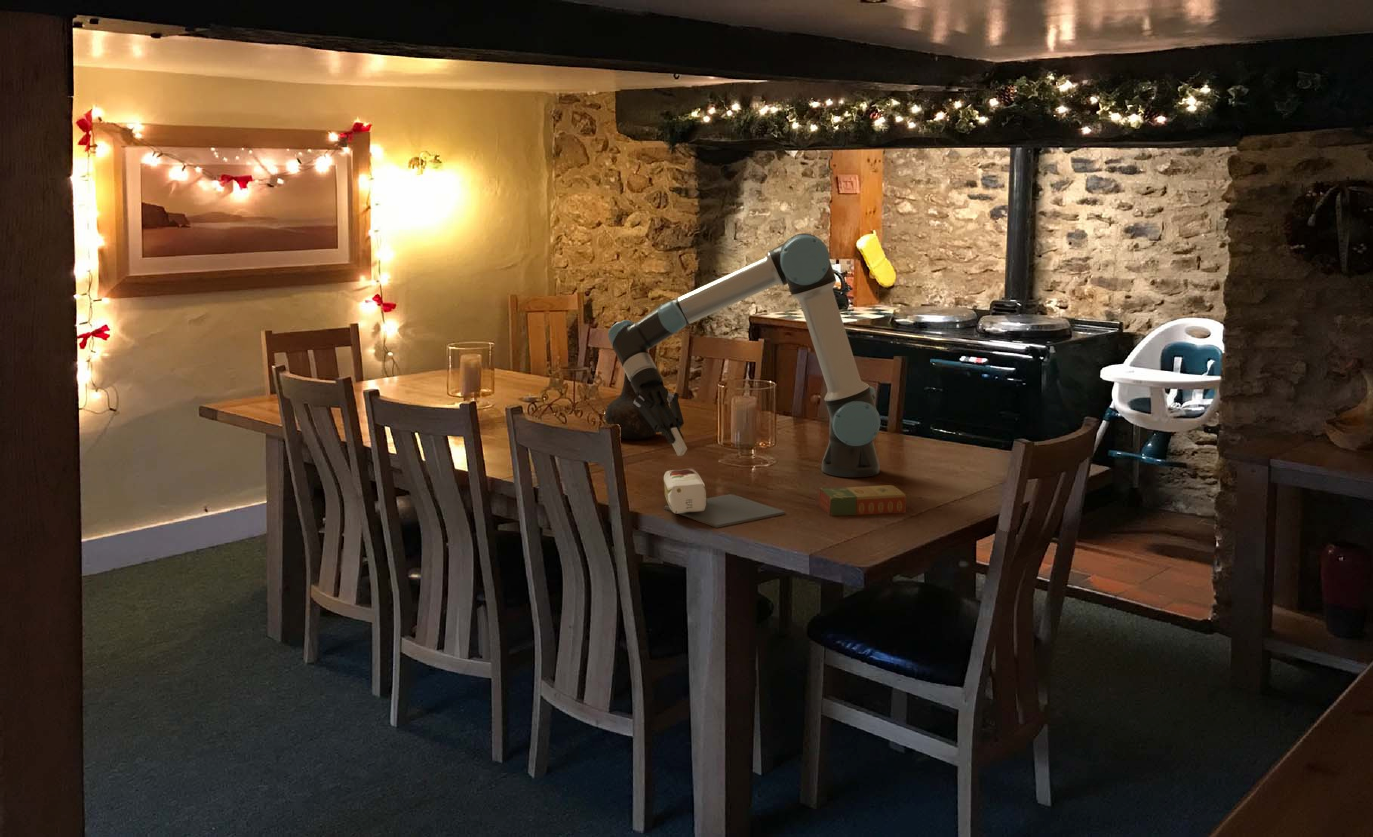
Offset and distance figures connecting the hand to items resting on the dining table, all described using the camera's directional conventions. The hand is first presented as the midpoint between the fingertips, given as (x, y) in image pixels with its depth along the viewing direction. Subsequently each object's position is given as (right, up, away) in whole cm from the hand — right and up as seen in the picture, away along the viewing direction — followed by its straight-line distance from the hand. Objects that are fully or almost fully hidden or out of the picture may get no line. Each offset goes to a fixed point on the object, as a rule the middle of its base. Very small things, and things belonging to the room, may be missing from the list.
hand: (682, 452), depth 289 cm
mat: (+10, -13, -11) cm, 20 cm away
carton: (+42, -14, -8) cm, 45 cm away
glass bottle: (-15, +2, +73) cm, 75 cm away
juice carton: (-1, -7, -1) cm, 7 cm away
